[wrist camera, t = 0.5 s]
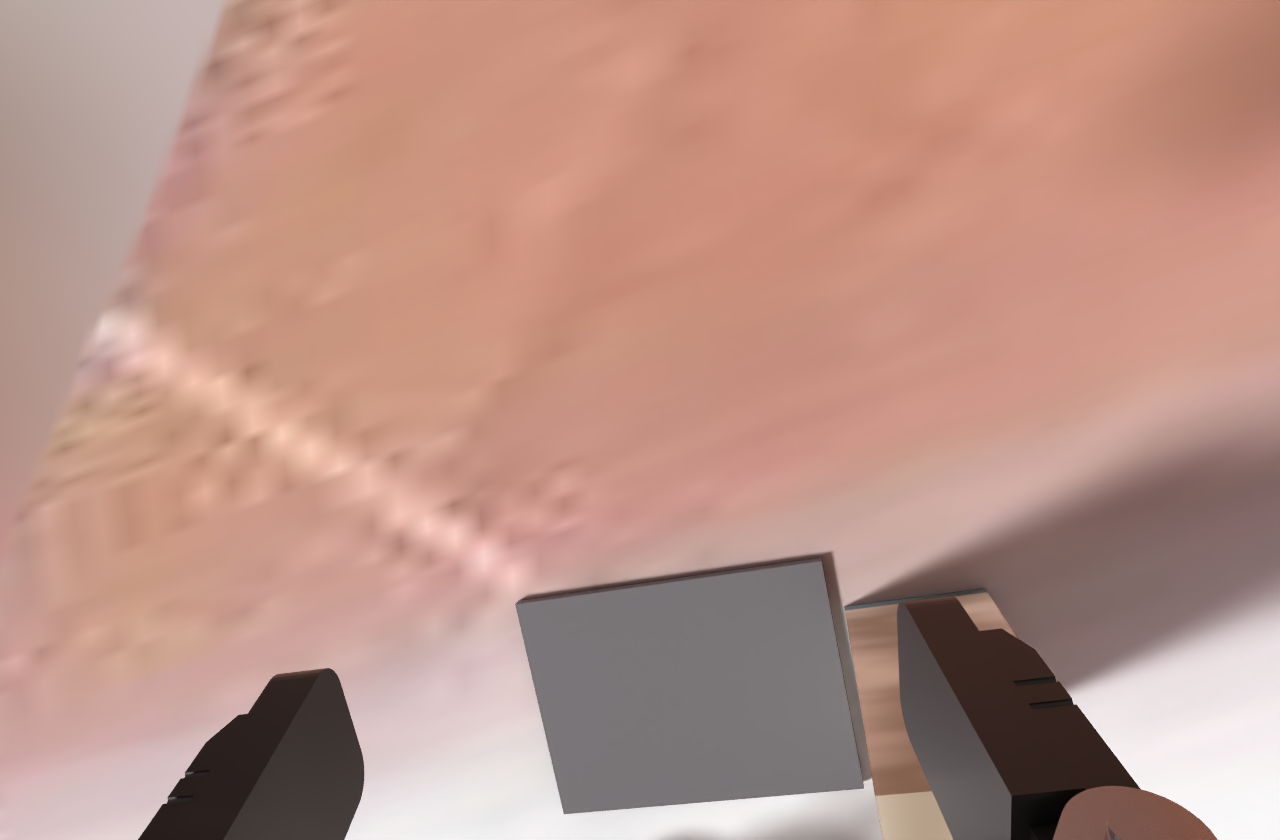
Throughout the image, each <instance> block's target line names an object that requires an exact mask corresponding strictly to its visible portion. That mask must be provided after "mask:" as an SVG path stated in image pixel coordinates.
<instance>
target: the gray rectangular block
mask: <svg viewBox="0 0 1280 840" xmlns="http://www.w3.org/2000/svg"><path fill="white" fill-rule="evenodd" d="M515 605H516V609H517V613H518V618H519V622H520V626H521V631H522V635H523V639H524V644H525V648H526V652H527V656H528V661H529V665H530V669H531V674H532V678H533V682H534V687H535V691H536V695H537V700H538V704H539V708H540V713H541V717H542V721H543V726H544V730H545V734H546V738H547V743H548V747H549V751H550V756H551V760H552V764H553V769H554V773H555V777H556V782H557V786H558V790H559V795H560V799H561V803H562V808H563V812H564V814H571V813H583V812H594V811H606V810H618V809H629V808H641V807H653V806H664V805H676V804H688V803H700V802H711V801H723V800H735V799H746V798H758V797H770V796H782V795H793V794H805V793H817V792H828V791H840V790H852V789H863V788H864V785H863V779H862V773H861V768H860V763H859V757H858V752H857V747H856V741H855V736H854V731H853V725H852V720H851V715H850V709H849V704H848V699H847V693H846V688H845V683H844V677H843V672H842V667H841V661H840V656H839V651H838V645H837V640H836V635H835V629H834V624H833V619H832V613H831V608H830V603H829V597H828V592H827V587H826V581H825V576H824V571H823V565H822V560H821V558H815V559H808V560H801V561H794V562H787V563H780V564H773V565H766V566H759V567H752V568H745V569H738V570H731V571H724V572H717V573H710V574H703V575H696V576H689V577H682V578H675V579H668V580H661V581H654V582H647V583H640V584H633V585H626V586H619V587H612V588H605V589H598V590H591V591H584V592H577V593H570V594H563V595H556V596H549V597H542V598H535V599H528V600H521V601H518V602H517V603H516V604H515Z"/></svg>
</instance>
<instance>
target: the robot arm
mask: <svg viewBox="0 0 1280 840" xmlns="http://www.w3.org/2000/svg"><path fill="white" fill-rule="evenodd" d="M897 634H898V661H899V687H900V701H901V709H902V714H903V719H904V723H905V727H906V731H907V734H908V737H909V740H910V742H911V745H912V747H913V749H914V752H915V754H916V756H917V758H918V761H919V763H920V765H921V767H922V770H923V772H924V774H925V776H926V779H927V781H928V783H929V786H930V788H931V790H932V792H933V795H934V797H935V799H936V801H937V804H938V806H939V808H940V810H941V813H942V815H943V817H944V819H945V822H946V824H947V826H948V829H949V831H950V833H951V835H952V838H953V840H1217V838H1216V837H1215V836H1214V834H1213V833H1212V832H1211V830H1210V829H1209V828H1208V827H1207V826H1206V825H1205V824H1204V823H1203V822H1202V821H1201V820H1200V819H1199V818H1197V817H1196V816H1195V815H1193V814H1192V813H1191V812H1190V811H1188V810H1187V809H1185V808H1183V807H1182V806H1180V805H1178V804H1177V803H1175V802H1173V801H1171V800H1169V799H1167V798H1165V797H1162V796H1159V795H1157V794H1154V793H1151V792H1148V791H1144V790H1141V789H1140V788H1139V787H1138V785H1137V784H1136V783H1135V781H1134V780H1133V779H1132V777H1131V776H1130V775H1129V773H1128V772H1127V771H1126V769H1125V768H1124V767H1123V765H1122V764H1121V763H1120V761H1119V760H1118V759H1117V757H1116V756H1115V755H1114V754H1113V752H1112V751H1111V750H1110V748H1109V747H1108V746H1107V744H1106V743H1105V742H1104V740H1103V739H1102V738H1101V736H1100V735H1099V734H1098V732H1097V731H1096V730H1095V728H1094V727H1093V726H1092V724H1091V723H1090V722H1089V721H1088V719H1087V718H1086V717H1085V715H1084V714H1083V713H1082V711H1081V710H1080V709H1079V707H1078V706H1077V705H1074V704H1073V702H1072V698H1071V697H1070V695H1069V694H1068V693H1067V691H1066V690H1065V689H1064V687H1063V686H1062V685H1061V684H1060V682H1056V679H1055V676H1054V674H1053V673H1052V672H1051V670H1050V669H1049V668H1048V666H1047V665H1046V664H1045V662H1044V661H1043V660H1042V658H1041V657H1040V656H1039V654H1038V653H1037V652H1036V650H1035V649H1033V648H1032V647H1030V646H1029V645H1027V644H1025V643H1024V642H1022V641H1021V640H1019V639H1018V638H1016V637H1015V636H1013V635H1011V634H1010V633H1008V632H1007V631H1005V630H1004V629H1002V628H1000V629H992V630H983V631H979V630H978V628H977V627H976V625H975V624H974V622H973V621H972V619H971V618H970V616H969V615H968V613H967V612H966V611H965V609H964V608H963V606H962V605H961V603H960V602H959V600H958V599H957V598H956V597H954V596H951V597H943V598H934V599H926V600H917V601H909V602H901V603H899V605H898V608H897ZM363 784H364V762H363V756H362V752H361V748H360V745H359V742H358V739H357V735H356V732H355V729H354V726H353V722H352V719H351V716H350V712H349V709H348V706H347V703H346V699H345V696H344V693H343V690H342V686H341V683H340V680H339V678H338V676H337V674H336V673H335V672H334V671H333V670H332V669H330V668H326V669H318V670H309V671H301V672H292V673H284V674H277V675H275V676H274V677H273V678H272V679H271V680H270V681H269V683H268V684H267V686H266V687H265V689H264V690H263V692H262V693H261V695H260V696H259V698H258V699H257V701H256V702H255V704H254V705H253V707H252V708H251V710H250V711H249V713H248V714H243V715H238V716H237V717H236V718H234V719H233V720H232V721H231V722H230V723H229V724H227V725H226V726H225V727H224V728H223V729H221V730H220V731H219V732H218V733H217V734H216V735H214V736H213V737H212V738H211V739H210V740H209V741H207V742H206V743H205V745H204V746H203V748H202V749H201V751H200V752H199V753H198V755H197V756H196V758H195V759H194V761H193V762H192V763H191V765H190V766H189V768H188V769H187V771H186V772H185V778H182V779H180V781H179V782H178V783H177V785H176V786H175V788H174V789H173V791H172V792H171V793H170V795H169V796H168V802H167V804H163V805H162V806H161V808H160V809H159V811H158V812H157V813H156V815H155V816H154V818H153V819H152V821H151V822H150V823H149V825H148V826H147V828H146V829H145V831H144V832H143V833H142V835H141V836H140V838H139V839H138V840H344V839H345V836H346V834H347V832H348V829H349V827H350V824H351V822H352V819H353V817H354V815H355V812H356V810H357V807H358V805H359V802H360V799H361V796H362V791H363Z"/></svg>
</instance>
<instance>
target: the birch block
mask: <svg viewBox="0 0 1280 840" xmlns="http://www.w3.org/2000/svg"><path fill="white" fill-rule="evenodd" d="M951 596H954V597H956V598H957V599H958V600H959V602H960V603H961V605H962V606H963V608H964V609H965V611H966V612H967V613H968V615H969V616H970V618H971V619H972V621H973V622H974V624H975V625H976V627H977V628H978V630H979V631H983V630H992V629H1000V628H1002V629H1004V630H1005V631H1007V632H1008V633H1010V634H1011V635H1013V636H1015V637H1016V635H1015V633H1014V632H1013V630H1012V629H1011V627H1010V626H1009V624H1008V623H1007V621H1006V620H1005V618H1004V617H1003V615H1002V614H1001V612H1000V610H999V609H998V607H997V606H996V604H995V603H994V601H993V600H992V598H991V597H990V595H989V594H988V592H987V590H986V589H985V588H984V589H976V590H968V591H961V592H953V593H945V594H938V595H930V596H922V597H914V598H907V599H899V600H891V601H884V602H876V603H868V604H861V605H853V606H845V607H844V608H845V614H846V620H847V626H848V632H849V638H850V645H851V651H852V657H853V663H854V669H855V675H856V681H857V688H858V694H859V700H860V706H861V712H862V718H863V725H864V731H865V737H866V743H867V749H868V755H869V761H870V768H871V774H872V780H873V786H874V792H875V798H876V803H877V809H878V814H879V820H880V825H881V830H882V836H883V840H953V838H952V835H951V833H950V831H949V829H948V826H947V824H946V822H945V819H944V817H943V815H942V813H941V810H940V808H939V806H938V804H937V801H936V799H935V797H934V795H933V792H932V790H931V788H930V786H929V783H928V781H927V779H926V776H925V774H924V772H923V770H922V767H921V765H920V763H919V761H918V758H917V756H916V754H915V752H914V749H913V747H912V745H911V742H910V740H909V737H908V734H907V731H906V727H905V723H904V719H903V714H902V709H901V701H900V687H899V661H898V634H897V608H898V605H899V603H901V602H909V601H917V600H926V599H934V598H943V597H951ZM1016 638H1017V637H1016Z"/></svg>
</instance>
